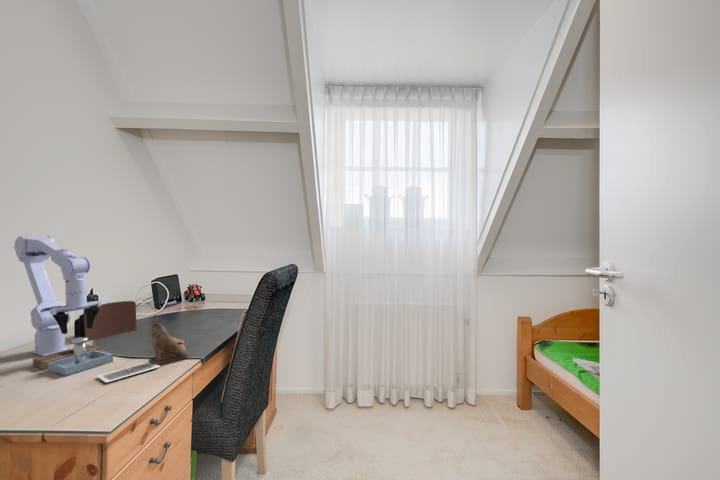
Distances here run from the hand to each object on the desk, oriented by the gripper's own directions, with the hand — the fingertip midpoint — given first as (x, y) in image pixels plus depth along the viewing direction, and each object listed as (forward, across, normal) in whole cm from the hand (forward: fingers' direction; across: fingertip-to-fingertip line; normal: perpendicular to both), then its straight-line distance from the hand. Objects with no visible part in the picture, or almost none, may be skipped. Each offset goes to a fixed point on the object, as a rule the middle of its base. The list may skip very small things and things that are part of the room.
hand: (77, 330), depth 124 cm
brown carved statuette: (+10, +12, -32) cm, 36 cm away
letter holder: (+10, +21, +22) cm, 32 cm away
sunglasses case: (+10, +20, -23) cm, 33 cm away
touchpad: (+10, -1, -31) cm, 33 cm away
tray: (+9, -4, -10) cm, 15 cm away
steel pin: (+9, -4, -10) cm, 14 cm away
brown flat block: (+9, -3, 0) cm, 10 cm away
